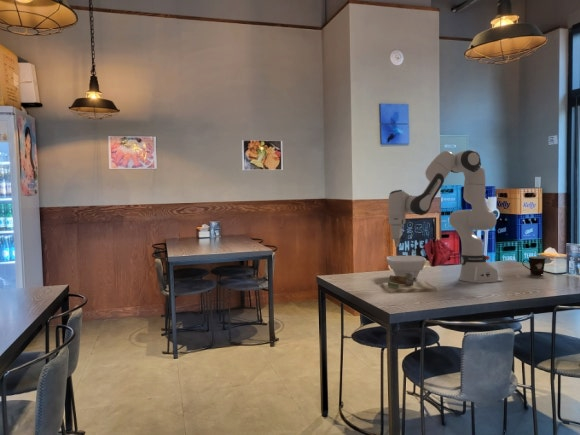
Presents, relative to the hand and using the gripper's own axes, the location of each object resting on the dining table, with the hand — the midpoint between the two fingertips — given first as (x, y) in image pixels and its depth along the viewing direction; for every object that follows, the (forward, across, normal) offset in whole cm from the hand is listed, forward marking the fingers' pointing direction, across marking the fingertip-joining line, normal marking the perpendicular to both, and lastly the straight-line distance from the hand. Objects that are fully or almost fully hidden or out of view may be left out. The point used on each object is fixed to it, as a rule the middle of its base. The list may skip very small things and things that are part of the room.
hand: (397, 246), depth 250 cm
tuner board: (+21, +7, +6) cm, 23 cm away
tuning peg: (+19, +6, +3) cm, 20 cm away
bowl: (+21, -22, +3) cm, 31 cm away
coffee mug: (+21, -47, +73) cm, 90 cm away
